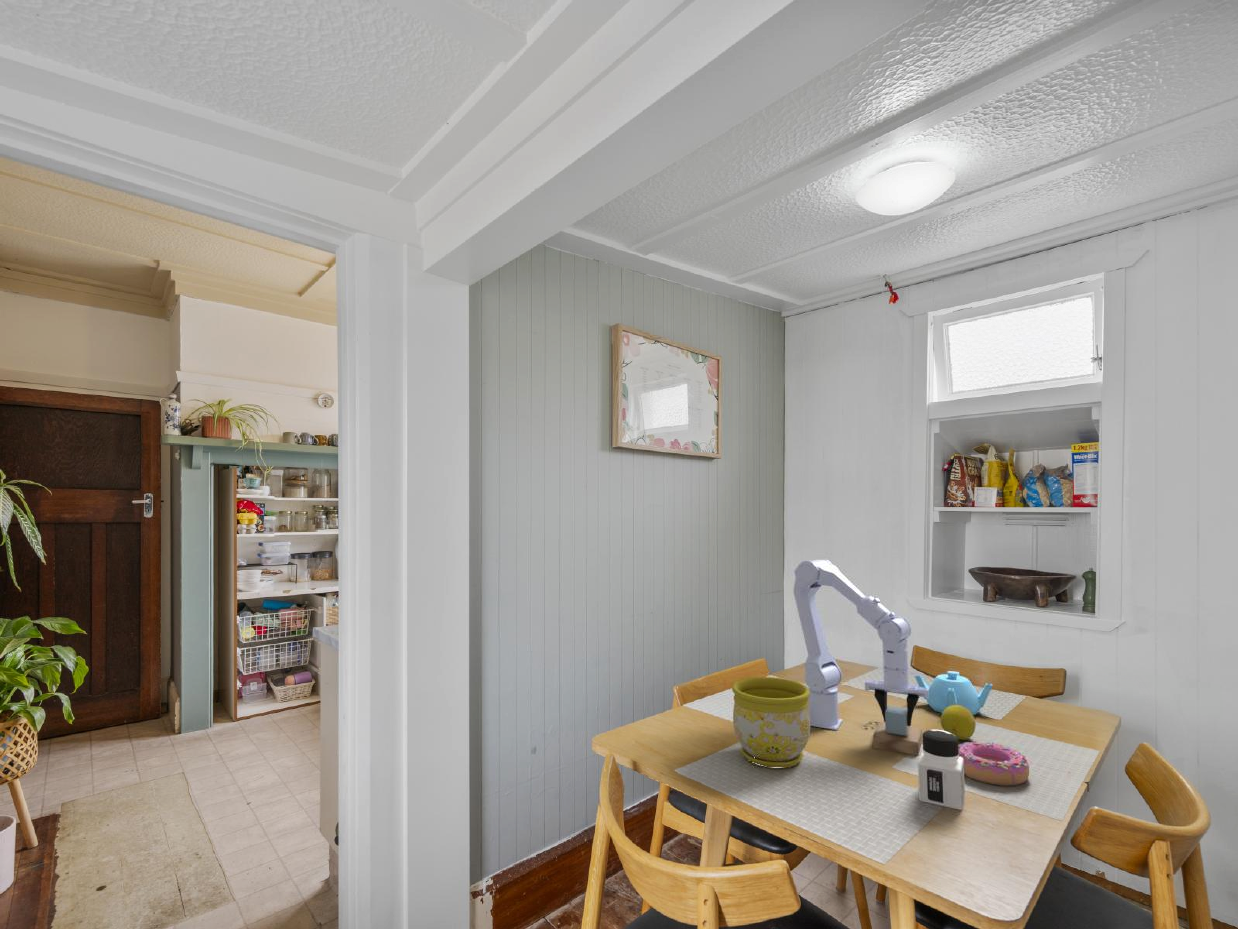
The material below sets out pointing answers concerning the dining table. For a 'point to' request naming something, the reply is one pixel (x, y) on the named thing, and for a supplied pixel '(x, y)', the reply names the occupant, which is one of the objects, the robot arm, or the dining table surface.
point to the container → (941, 770)
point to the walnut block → (898, 740)
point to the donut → (993, 763)
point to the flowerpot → (771, 720)
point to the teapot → (954, 692)
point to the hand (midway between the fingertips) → (897, 723)
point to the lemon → (958, 722)
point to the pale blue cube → (896, 721)
